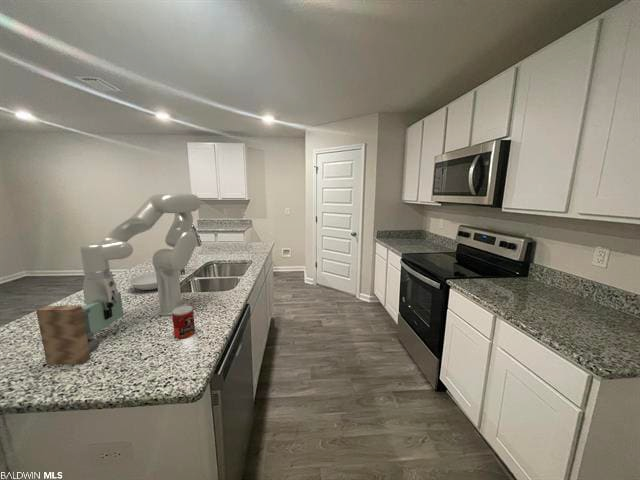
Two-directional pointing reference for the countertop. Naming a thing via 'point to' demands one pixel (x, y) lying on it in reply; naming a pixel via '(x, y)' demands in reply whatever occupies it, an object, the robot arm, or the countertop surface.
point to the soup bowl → (144, 281)
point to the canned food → (183, 322)
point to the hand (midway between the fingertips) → (104, 317)
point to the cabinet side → (64, 335)
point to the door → (100, 316)
